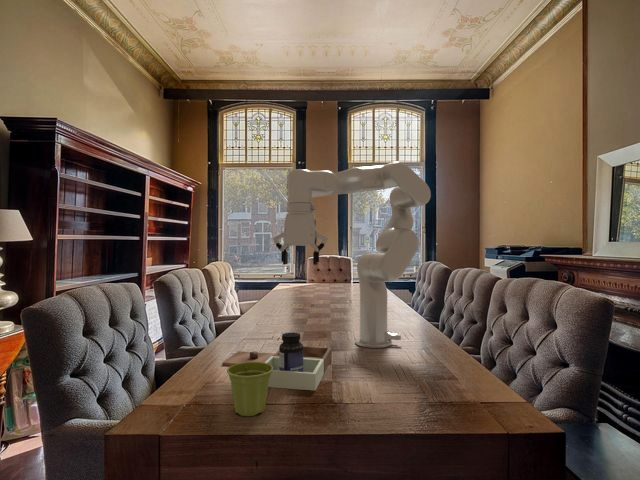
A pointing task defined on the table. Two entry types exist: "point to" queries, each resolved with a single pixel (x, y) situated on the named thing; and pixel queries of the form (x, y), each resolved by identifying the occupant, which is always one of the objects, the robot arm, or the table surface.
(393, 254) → the robot arm
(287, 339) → the pill bottle
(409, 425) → the table surface
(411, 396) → the table surface
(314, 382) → the sage box
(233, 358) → the walnut lid
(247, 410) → the plant pot
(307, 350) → the walnut box
